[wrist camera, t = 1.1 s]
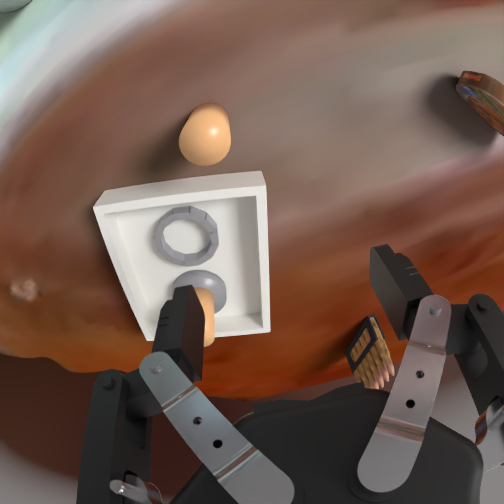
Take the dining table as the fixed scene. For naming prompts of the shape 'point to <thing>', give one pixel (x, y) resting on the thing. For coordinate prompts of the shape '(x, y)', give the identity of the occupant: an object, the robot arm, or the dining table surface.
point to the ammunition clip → (370, 355)
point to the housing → (192, 248)
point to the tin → (484, 97)
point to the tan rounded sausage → (206, 135)
